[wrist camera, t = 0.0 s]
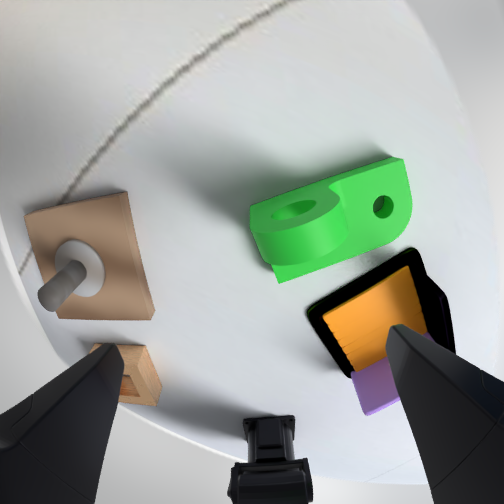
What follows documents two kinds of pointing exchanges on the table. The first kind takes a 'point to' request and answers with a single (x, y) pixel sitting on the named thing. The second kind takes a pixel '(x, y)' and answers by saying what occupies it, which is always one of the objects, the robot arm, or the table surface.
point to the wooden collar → (138, 376)
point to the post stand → (90, 260)
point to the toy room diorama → (381, 323)
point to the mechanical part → (332, 219)
